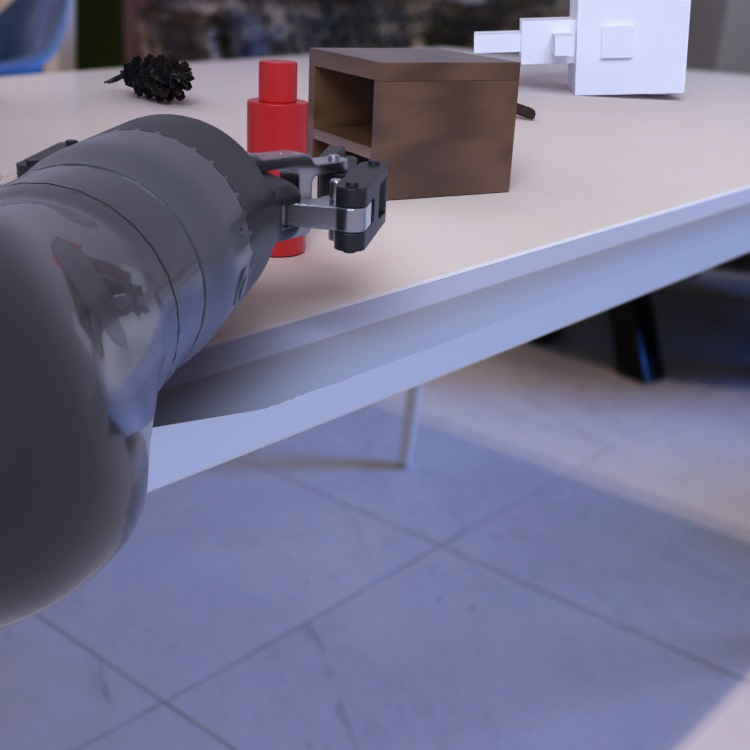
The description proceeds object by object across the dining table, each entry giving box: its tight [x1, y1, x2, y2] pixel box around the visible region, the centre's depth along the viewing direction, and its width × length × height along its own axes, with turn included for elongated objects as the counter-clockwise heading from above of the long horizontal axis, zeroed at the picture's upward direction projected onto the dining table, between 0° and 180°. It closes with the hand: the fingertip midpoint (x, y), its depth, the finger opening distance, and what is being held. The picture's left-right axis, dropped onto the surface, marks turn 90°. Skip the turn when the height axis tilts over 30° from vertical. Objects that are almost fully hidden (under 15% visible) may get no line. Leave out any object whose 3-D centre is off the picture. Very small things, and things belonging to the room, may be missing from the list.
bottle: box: [246, 58, 308, 258], centre depth 56 cm, size 3×3×10 cm
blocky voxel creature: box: [473, 0, 692, 96], centre depth 142 cm, size 15×25×28 cm
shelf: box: [307, 47, 522, 201], centre depth 76 cm, size 11×11×9 cm
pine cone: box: [103, 52, 196, 104], centre depth 114 cm, size 18×5×5 cm, turn 39°
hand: (247, 161), depth 50 cm, fingers open, 8 cm apart
